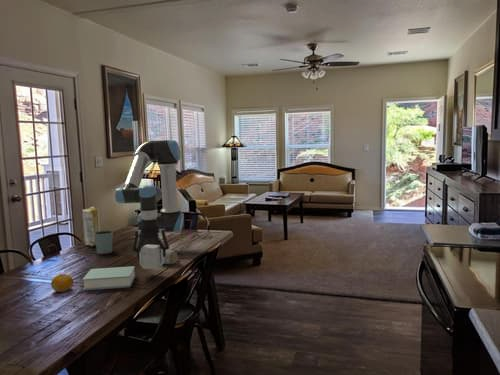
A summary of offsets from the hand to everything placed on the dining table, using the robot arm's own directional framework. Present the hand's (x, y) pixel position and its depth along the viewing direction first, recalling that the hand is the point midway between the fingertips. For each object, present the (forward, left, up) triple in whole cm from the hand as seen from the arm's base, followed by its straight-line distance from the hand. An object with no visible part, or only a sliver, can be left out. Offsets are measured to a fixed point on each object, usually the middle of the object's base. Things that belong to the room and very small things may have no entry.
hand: (152, 264), depth 186 cm
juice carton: (-68, -45, -6) cm, 82 cm away
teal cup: (-48, -33, -6) cm, 58 cm away
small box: (0, 0, -2) cm, 2 cm away
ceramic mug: (-18, +6, -6) cm, 20 cm away
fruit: (+12, -37, -6) cm, 39 cm away
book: (+7, -18, -5) cm, 20 cm away
